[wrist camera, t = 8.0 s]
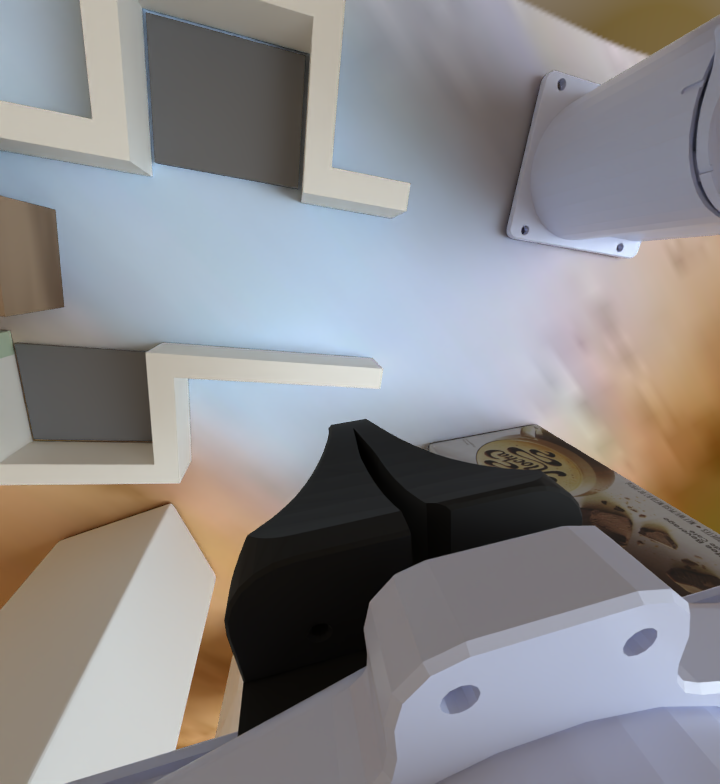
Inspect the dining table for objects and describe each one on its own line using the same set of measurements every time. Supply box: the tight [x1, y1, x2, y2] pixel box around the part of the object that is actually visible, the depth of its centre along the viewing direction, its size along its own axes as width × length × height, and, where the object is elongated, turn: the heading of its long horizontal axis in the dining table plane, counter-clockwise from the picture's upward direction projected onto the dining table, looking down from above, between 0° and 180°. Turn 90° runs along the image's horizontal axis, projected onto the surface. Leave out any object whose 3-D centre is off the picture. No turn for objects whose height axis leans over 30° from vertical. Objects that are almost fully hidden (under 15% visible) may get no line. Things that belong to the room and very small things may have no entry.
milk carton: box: [0, 504, 216, 784], centre depth 14 cm, size 7×7×19 cm
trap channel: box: [0, 0, 411, 485], centre depth 16 cm, size 24×23×3 cm
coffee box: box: [429, 425, 720, 597], centre depth 19 cm, size 9×6×16 cm
